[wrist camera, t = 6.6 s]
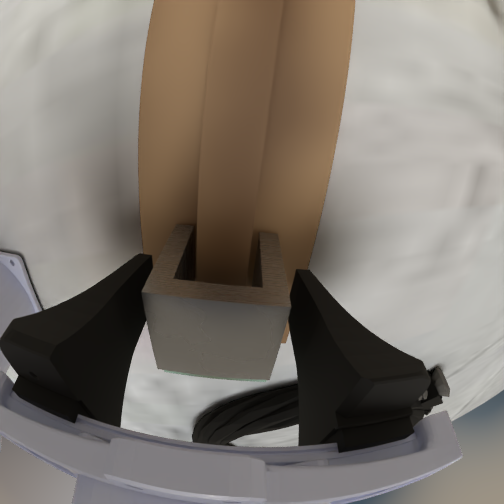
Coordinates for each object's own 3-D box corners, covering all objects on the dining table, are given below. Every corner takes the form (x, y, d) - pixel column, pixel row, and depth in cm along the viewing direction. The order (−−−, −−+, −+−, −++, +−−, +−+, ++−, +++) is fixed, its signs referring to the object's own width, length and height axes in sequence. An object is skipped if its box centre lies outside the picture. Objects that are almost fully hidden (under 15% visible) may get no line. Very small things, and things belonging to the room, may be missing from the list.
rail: (157, 323, 16) (140, 376, 12) (177, -63, 5) (153, -105, 1) (284, 336, 16) (291, 391, 13) (352, -47, 5) (387, -83, 2)
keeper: (178, 295, 13) (157, 368, 9) (176, 224, 11) (141, 292, 7) (264, 303, 14) (269, 380, 10) (277, 234, 12) (291, 307, 8)
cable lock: (141, 446, 22) (431, 336, 12) (147, 419, 26) (406, 295, 15) (286, 482, 33) (458, 416, 23) (285, 464, 36) (450, 395, 26)
